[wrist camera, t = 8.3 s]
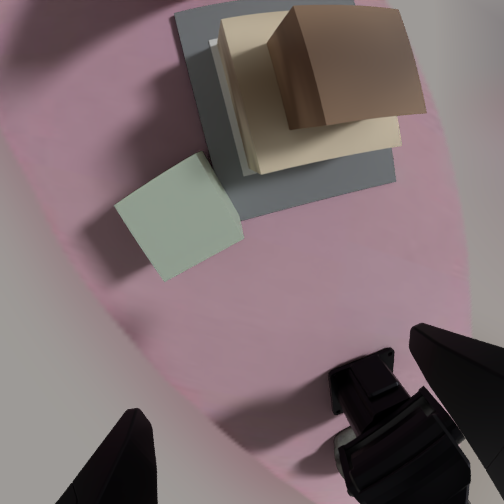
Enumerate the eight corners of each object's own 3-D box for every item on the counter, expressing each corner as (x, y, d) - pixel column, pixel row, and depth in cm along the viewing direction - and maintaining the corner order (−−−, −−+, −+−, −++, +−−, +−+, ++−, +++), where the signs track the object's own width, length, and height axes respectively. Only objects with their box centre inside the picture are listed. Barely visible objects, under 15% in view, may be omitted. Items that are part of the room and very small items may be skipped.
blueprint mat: (393, 180, 20) (396, 181, 19) (228, 223, 19) (228, 224, 19) (349, -3, 15) (352, -5, 14) (174, 15, 14) (173, 12, 13)
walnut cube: (370, 116, 14) (426, 113, 9) (289, 130, 13) (326, 125, 9) (350, 36, 12) (398, 9, 8) (266, 43, 12) (293, 5, 8)
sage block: (239, 215, 18) (244, 238, 14) (176, 250, 19) (164, 282, 15) (202, 150, 17) (195, 153, 13) (138, 189, 17) (113, 205, 13)
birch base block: (366, 143, 18) (402, 145, 14) (248, 168, 18) (261, 174, 14) (339, 30, 15) (368, 10, 11) (216, 44, 15) (221, 19, 11)
